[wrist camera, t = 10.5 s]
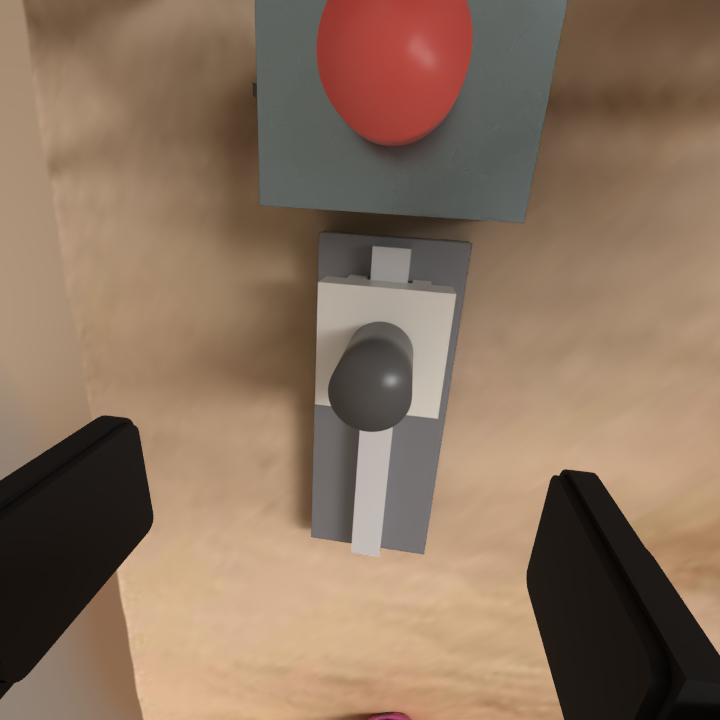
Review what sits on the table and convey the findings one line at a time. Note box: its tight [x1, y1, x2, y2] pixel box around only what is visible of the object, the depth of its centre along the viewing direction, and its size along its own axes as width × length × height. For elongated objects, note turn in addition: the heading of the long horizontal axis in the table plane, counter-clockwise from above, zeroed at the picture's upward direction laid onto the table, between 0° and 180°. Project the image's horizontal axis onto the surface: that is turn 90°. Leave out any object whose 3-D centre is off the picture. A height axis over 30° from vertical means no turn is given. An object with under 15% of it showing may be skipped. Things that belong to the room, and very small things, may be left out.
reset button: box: [316, 0, 473, 146], centre depth 14 cm, size 5×5×2 cm
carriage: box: [315, 274, 456, 432], centre depth 24 cm, size 8×8×10 cm
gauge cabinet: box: [253, 0, 568, 223], centre depth 21 cm, size 13×10×10 cm
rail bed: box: [311, 231, 472, 557], centre depth 31 cm, size 10×26×4 cm, turn 176°
